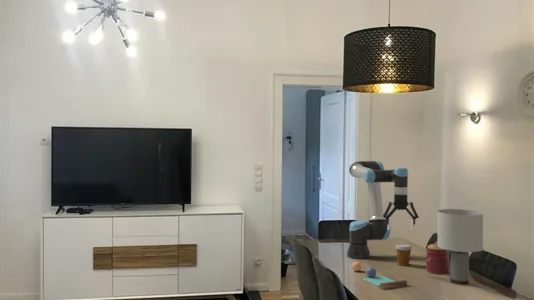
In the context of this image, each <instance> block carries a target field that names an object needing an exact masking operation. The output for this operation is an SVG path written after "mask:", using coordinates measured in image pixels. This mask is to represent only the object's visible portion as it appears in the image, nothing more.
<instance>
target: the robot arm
mask: <svg viewBox="0 0 534 300" xmlns="http://www.w3.org/2000/svg"><path fill="white" fill-rule="evenodd" d="M348 169H349V174H350V175H351V176H352V177H353V178H357V179H362V180H364V182H365V183H366V184H367V192H368V203H369V215H370V218H369V219H368V220H363V219H362V220H361V219H359V220H355V221H352V222H350V224H349V245H348V247H347V248H348V249H347V251H346V256H347V258H350V259H357V260H358V259H359V260H365V259H370V258H371V252H370V248H369V246H368V245H369V244H368V241H385V240H386V241H387V240H388V239H389V237H390V235H391V218H390V217H392V216H393V214H394V213H395V212H396V211H397V210H398V211H406V212H407V214H408V215H409V216H410V217H411V219H410V230H411V231H414V225H416V220H417V219H419V215H418V213H417V211H416V208H415V206H414V202H413V201H410V202H408V180H409V179H408V177H409V172H408V168H407V167H395V168H394V169H385V167H384V164H383V163H382V162H381V161H376V160H363V161H362V160H358V161H355V162H353V163H352V164H351V165H350V166H349V168H348ZM381 183H394V185H393V186H394V189H393V192H394V196H393V198H394V199H393V202H392V201H388V204H387V207H386V209H385V211H384V207H383V197H382V189H381V188H382V187H381ZM392 206H394V207H393V208H392ZM408 206H409V207H410V209H411V210H412V212H411V210H409V208H408ZM391 208H392V209H391Z"/></svg>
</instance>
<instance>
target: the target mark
mask: <svg viewBox="0 0 534 300" xmlns="http://www.w3.org/2000/svg"><path fill="white" fill-rule="evenodd" d="M362 280H363V281H365V282H368V283H369V284H372V285H374V286H377V287H380V283H386V282H393V281H395V280H394V279H391V278H389V277H386V276H383V275H380V276H374V277H367V278H362Z"/></svg>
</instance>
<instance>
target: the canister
mask: <svg viewBox="0 0 534 300" xmlns="http://www.w3.org/2000/svg"><path fill="white" fill-rule="evenodd" d="M425 252H426V255H425V260H426V261H425V263H426V264H425V271H426V272H428V273H430V274H435V275H446V274H447V275H448V274H449V273H450V257H449V254H450V250H446V249H442V248H439V247H438V246H437V241H435V242H434V243H431V244H429V245H427V248H426V250H425Z"/></svg>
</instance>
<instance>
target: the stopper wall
mask: <svg viewBox="0 0 534 300" xmlns="http://www.w3.org/2000/svg"><path fill="white" fill-rule="evenodd" d="M406 286H408V280H406V279H400V280H394V281H393V282H386V283H380V286H379V289H381V290H386V289H395V288H400V287H406Z"/></svg>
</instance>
